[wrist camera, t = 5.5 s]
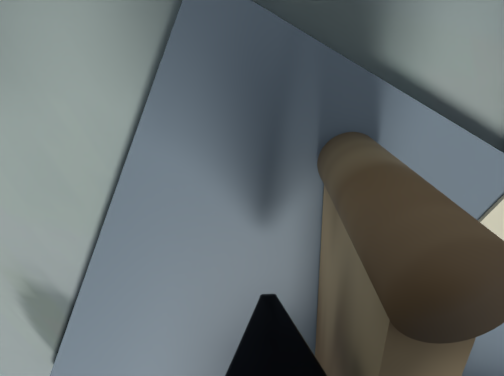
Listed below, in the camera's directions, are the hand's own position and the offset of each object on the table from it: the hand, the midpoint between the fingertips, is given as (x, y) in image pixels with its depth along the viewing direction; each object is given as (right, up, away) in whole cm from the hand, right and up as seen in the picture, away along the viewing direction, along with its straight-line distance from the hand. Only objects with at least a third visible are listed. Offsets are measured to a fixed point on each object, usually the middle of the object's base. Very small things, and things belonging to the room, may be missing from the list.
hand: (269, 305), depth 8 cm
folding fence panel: (+2, -1, +2) cm, 3 cm away
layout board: (+4, -3, +4) cm, 6 cm away
